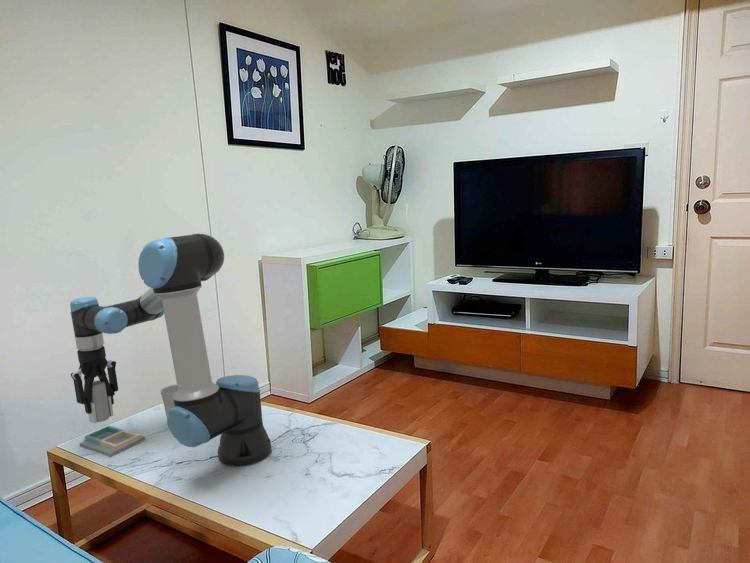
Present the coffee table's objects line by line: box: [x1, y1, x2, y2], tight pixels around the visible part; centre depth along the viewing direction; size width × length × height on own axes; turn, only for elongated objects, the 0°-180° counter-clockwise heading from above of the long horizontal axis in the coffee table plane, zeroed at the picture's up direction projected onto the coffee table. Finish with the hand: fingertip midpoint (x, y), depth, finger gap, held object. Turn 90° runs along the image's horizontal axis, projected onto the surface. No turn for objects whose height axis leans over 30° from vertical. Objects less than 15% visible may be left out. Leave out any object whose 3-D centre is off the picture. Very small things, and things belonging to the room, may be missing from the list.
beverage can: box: [91, 380, 111, 423], centre depth 168 cm, size 5×5×12 cm
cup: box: [160, 384, 178, 417], centre depth 180 cm, size 8×8×12 cm
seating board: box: [78, 425, 147, 458], centre depth 168 cm, size 16×12×2 cm
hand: (101, 418), depth 169 cm, fingers closed on beverage can, 5 cm apart
